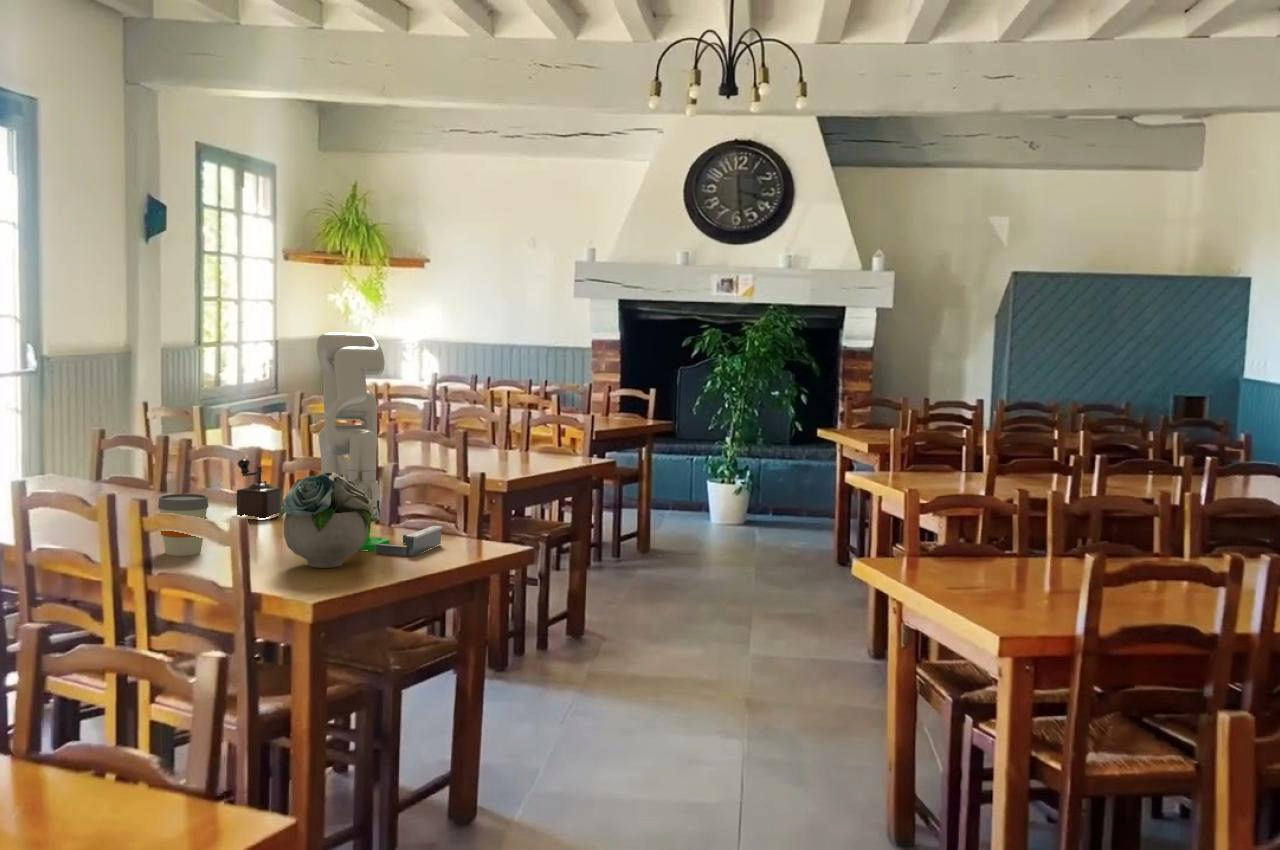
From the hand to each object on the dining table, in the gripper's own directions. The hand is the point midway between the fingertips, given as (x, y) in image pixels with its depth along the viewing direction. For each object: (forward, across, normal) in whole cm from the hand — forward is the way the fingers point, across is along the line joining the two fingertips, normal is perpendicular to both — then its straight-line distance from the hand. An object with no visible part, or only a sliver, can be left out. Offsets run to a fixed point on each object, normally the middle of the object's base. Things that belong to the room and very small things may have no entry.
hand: (361, 539), depth 330 cm
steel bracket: (+2, +15, 0) cm, 15 cm away
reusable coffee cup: (+2, -37, -29) cm, 47 cm away
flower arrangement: (+2, +5, -29) cm, 29 cm away
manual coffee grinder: (+2, -54, +30) cm, 61 cm away
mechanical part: (+2, +4, -1) cm, 5 cm away
